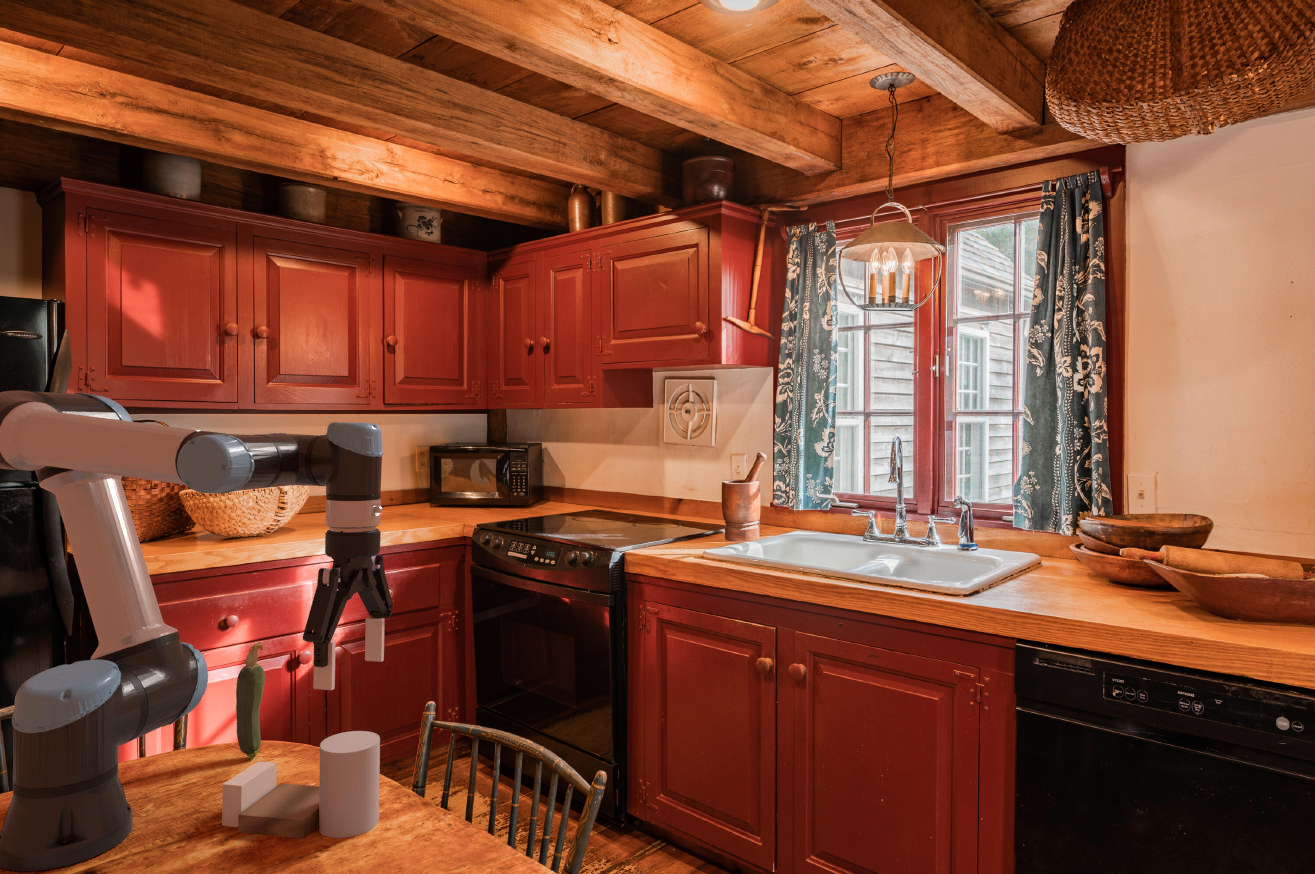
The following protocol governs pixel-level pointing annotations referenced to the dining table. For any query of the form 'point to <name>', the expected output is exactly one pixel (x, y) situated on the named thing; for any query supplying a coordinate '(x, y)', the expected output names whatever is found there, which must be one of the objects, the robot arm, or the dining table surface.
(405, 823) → the dining table surface
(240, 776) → the block
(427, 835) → the dining table surface
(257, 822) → the board
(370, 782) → the grey cylinder
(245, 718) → the vegetable
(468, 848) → the dining table surface
